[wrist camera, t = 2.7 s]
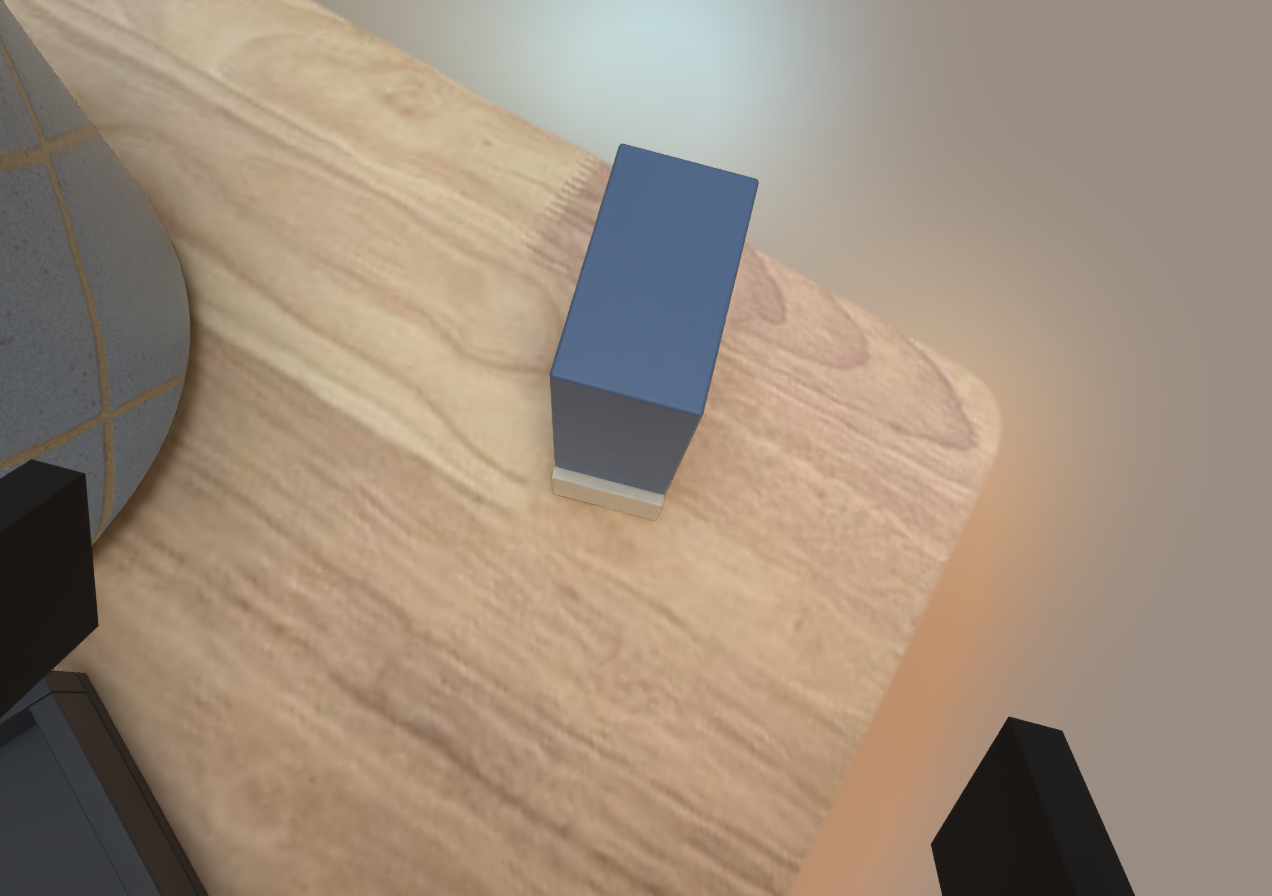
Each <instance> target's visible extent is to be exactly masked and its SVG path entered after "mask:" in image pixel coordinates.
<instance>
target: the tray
mask: <svg viewBox="0 0 1272 896" xmlns="http://www.w3.org/2000/svg"><path fill="white" fill-rule="evenodd" d="M0 896H207V894H206V892H205V890H204V888H203V886H202V885H201V883H200V881H199V879H198V877H197V876H196V874H195V872H194V870H193V868H192V867H191V865H190V863H189V861H188V859H187V857H186V856H185V854H184V852H183V850H182V848H181V847H180V845H179V843H178V841H177V839H176V837H175V836H174V834H173V832H172V830H171V828H170V827H169V825H168V823H167V821H166V819H165V817H164V816H163V814H162V812H161V810H160V808H159V807H158V805H157V803H156V801H155V799H154V797H153V796H152V794H151V792H150V790H149V788H148V787H147V785H146V783H145V781H144V779H143V777H142V776H141V774H140V772H139V770H138V768H137V767H136V765H135V763H134V761H133V759H132V757H131V756H130V754H129V752H128V750H127V748H126V747H125V745H124V743H123V741H122V739H121V738H120V736H119V734H118V732H117V730H116V728H115V727H114V725H113V723H112V721H111V719H110V718H109V716H108V714H107V712H106V710H105V708H104V707H103V705H102V703H101V701H100V699H99V698H98V696H97V694H96V692H95V690H94V688H93V687H92V685H91V683H90V681H89V679H88V678H87V676H86V674H85V673H75V672H62V671H50V672H49V673H48V674H47V675H46V676H45V677H44V678H43V679H42V680H41V681H40V682H39V683H37V684H36V685H35V686H34V687H33V688H32V689H31V690H30V691H29V692H28V693H27V694H26V695H25V696H24V697H23V698H22V699H21V700H19V701H18V702H17V703H16V704H15V705H14V706H13V707H12V708H11V709H10V710H9V711H8V712H7V713H6V714H5V715H4V716H3V717H1V718H0Z"/></svg>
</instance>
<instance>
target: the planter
mask: <svg viewBox="0 0 1272 896" xmlns="http://www.w3.org/2000/svg"><path fill="white" fill-rule="evenodd" d="M189 349H190V313H189V302H188V297H187V291H186V285H185V281H184V277H183V274H182V270H181V266H180V263H179V260H178V258H177V255H176V252H175V249H174V247H173V244H172V241H171V239H170V237H169V235H168V233H167V232H166V230H165V228H164V226H163V224H162V222H161V221H160V219H159V217H158V215H157V214H156V212H155V210H154V209H153V207H152V205H151V204H150V202H149V201H148V199H147V197H146V196H145V194H144V193H143V192H142V190H141V189H140V187H139V186H138V185H137V183H136V182H135V181H134V179H133V178H132V177H131V175H130V174H129V173H128V171H127V170H126V169H125V167H124V166H123V165H122V163H121V162H120V161H119V159H118V158H117V157H116V155H115V154H114V153H113V151H112V150H111V149H110V147H109V146H108V145H107V143H106V142H105V141H104V139H103V138H102V136H101V135H100V134H99V132H98V131H97V130H96V128H95V127H94V126H93V124H92V123H91V122H90V120H89V119H88V118H87V116H86V115H85V113H84V112H83V111H82V109H81V108H80V107H79V105H78V104H77V103H76V101H75V100H74V98H73V97H72V96H71V94H70V93H69V92H68V90H67V89H66V87H65V86H64V85H63V83H62V82H61V81H60V79H59V78H58V76H57V75H56V74H55V72H54V71H53V70H52V68H51V67H50V65H49V64H48V63H47V61H46V60H45V59H44V57H43V56H42V55H41V53H40V52H39V50H38V49H37V48H36V46H35V45H34V44H33V42H32V41H31V39H30V38H29V37H28V35H27V34H26V33H25V31H24V30H23V28H22V27H21V26H20V24H19V23H18V21H17V20H16V18H15V17H14V16H13V14H12V13H11V11H10V10H9V9H8V7H7V6H6V4H5V3H4V2H3V0H0V478H2V477H3V476H5V475H7V474H8V473H10V472H11V471H13V470H15V469H16V468H18V467H19V466H21V465H23V464H24V463H26V462H27V461H29V460H31V459H33V460H37V461H41V462H44V463H48V464H52V465H56V466H60V467H63V468H67V469H71V470H75V471H79V472H82V473H86V484H87V496H88V508H89V520H90V531H91V543H92V546H93V544H94V543H95V542H96V541H97V539H98V538H99V537H100V536H101V534H102V533H103V532H104V530H105V529H106V528H107V527H108V526H109V524H110V523H111V522H112V521H113V519H114V518H115V517H116V516H117V514H118V513H119V512H120V510H121V509H122V508H123V506H124V505H125V504H126V502H127V501H128V500H129V498H130V497H131V496H132V494H133V493H134V491H135V490H136V488H137V487H138V486H139V484H140V483H141V481H142V480H143V478H144V477H145V475H146V474H147V472H148V470H149V468H150V467H151V465H152V463H153V461H154V460H155V458H156V456H157V454H158V453H159V451H160V449H161V447H162V444H163V442H164V440H165V438H166V436H167V434H168V432H169V429H170V427H171V424H172V421H173V419H174V416H175V413H176V411H177V408H178V405H179V401H180V398H181V394H182V391H183V387H184V382H185V377H186V372H187V367H188V358H189Z"/></svg>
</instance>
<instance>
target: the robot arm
mask: <svg viewBox="0 0 1272 896" xmlns="http://www.w3.org/2000/svg"><path fill="white" fill-rule="evenodd" d="M98 626H99V625H98V614H97V602H96V590H95V578H94V567H93V555H92V543H91V531H90V520H89V508H88V496H87V484H86V473H82V472H79V471H75V470H71V469H67V468H63V467H60V466H56V465H52V464H48V463H44V462H41V461H37V460H33V459H31V460H29V461H27V462H26V463H24V464H23V465H21V466H19V467H18V468H16V469H15V470H13V471H11V472H10V473H8V474H7V475H5V476H3V477H2V478H0V718H1V717H3V716H4V715H5V714H6V713H7V712H8V711H9V710H10V709H11V708H12V707H13V706H14V705H15V704H16V703H17V702H18V701H19V700H21V699H22V698H23V697H24V696H25V695H26V694H27V693H28V692H29V691H30V690H31V689H32V688H33V687H34V686H35V685H36V684H37V683H39V682H40V681H41V680H42V679H43V678H44V677H45V676H46V675H47V674H48V673H49V672H50V671H51V670H52V669H53V668H54V667H55V666H57V665H58V664H59V663H60V662H61V661H62V660H63V659H64V658H65V657H66V656H67V655H68V654H69V653H70V652H71V651H72V650H73V649H75V648H76V647H77V646H78V645H79V644H80V643H81V642H82V641H83V640H84V639H85V638H86V637H87V636H88V635H89V634H90V633H91V632H93V631H94V630H95V629H96V628H97V627H98ZM931 847H932V851H933V856H934V861H935V865H936V870H937V874H938V879H939V883H940V888H941V892H942V896H1135V894H1134V892H1133V890H1132V888H1131V886H1130V883H1129V881H1128V879H1127V876H1126V874H1125V872H1124V870H1123V867H1122V865H1121V863H1120V861H1119V858H1118V856H1117V854H1116V851H1115V849H1114V847H1113V845H1112V842H1111V840H1110V838H1109V835H1108V833H1107V831H1106V829H1105V826H1104V824H1103V822H1102V820H1101V817H1100V815H1099V813H1098V811H1097V808H1096V806H1095V804H1094V802H1093V799H1092V797H1091V795H1090V793H1089V791H1088V788H1087V786H1086V783H1085V781H1084V779H1083V777H1082V774H1081V772H1080V770H1079V768H1078V765H1077V763H1076V761H1075V759H1074V756H1073V754H1072V752H1071V750H1070V747H1069V745H1068V743H1067V740H1066V738H1065V736H1064V734H1063V731H1061V730H1058V729H1054V728H1050V727H1046V726H1043V725H1039V724H1035V723H1031V722H1027V721H1023V720H1020V719H1016V718H1012V717H1008V718H1007V720H1006V722H1005V723H1004V725H1003V727H1002V728H1001V730H1000V732H999V733H998V735H997V737H996V738H995V740H994V742H993V743H992V745H991V746H990V748H989V750H988V751H987V753H986V755H985V756H984V758H983V759H982V761H981V763H980V764H979V766H978V768H977V769H976V771H975V773H974V774H973V776H972V778H971V779H970V781H969V782H968V784H967V786H966V788H965V789H964V791H963V792H962V794H961V796H960V797H959V799H958V800H957V802H956V804H955V805H954V807H953V809H952V810H951V812H950V814H949V815H948V817H947V819H946V820H945V822H944V823H943V825H942V827H941V828H940V830H939V832H938V833H937V835H936V837H935V838H934V840H933V842H932V843H931Z"/></svg>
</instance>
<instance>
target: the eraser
mask: <svg viewBox="0 0 1272 896" xmlns="http://www.w3.org/2000/svg"><path fill="white" fill-rule="evenodd" d="M758 184H759V183H758V180H757V179H755V178H751V177H747V176H744V175H740V174H736V173H732V172H728V171H725V170H721V169H717V168H713V167H710V166H705V165H702V164H698V163H694V162H690V161H686V160H683V159H679V158H675V157H671V156H668V155H664V154H660V153H656V152H652V151H649V150H645V149H641V148H637V147H633V146H630V145H626V144H620V146H619V148H618V151H617V154H616V157H615V161H614V164H613V167H612V171H611V174H610V177H609V180H608V184H607V187H606V190H605V194H604V197H603V200H602V203H601V207H600V210H599V213H598V217H597V220H596V223H595V226H594V230H593V233H592V236H591V240H590V243H589V246H588V249H587V253H586V256H585V259H584V263H583V266H582V269H581V272H580V276H579V279H578V282H577V286H576V289H575V292H574V295H573V299H572V302H571V305H570V309H569V312H568V315H567V319H566V322H565V325H564V328H563V332H562V335H561V338H560V342H559V345H558V348H557V351H556V355H555V358H554V361H553V365H552V368H551V371H550V388H551V406H552V424H553V442H554V460H555V466H554V469H553V472H552V476H551V478H552V492H553V494H556V495H560V496H564V497H568V498H571V499H575V500H579V501H583V502H587V503H590V504H594V505H598V506H602V507H606V508H609V509H613V510H617V511H621V512H625V513H628V514H632V515H636V516H640V517H644V518H647V519H651V520H656V519H657V517H658V515H659V513H660V511H661V509H662V506H663V503H664V499H665V495H666V492H667V490H668V488H669V486H670V484H671V482H672V480H673V477H674V475H675V473H676V471H677V469H678V467H679V465H680V462H681V460H682V458H683V456H684V454H685V452H686V450H687V447H688V445H689V443H690V441H691V439H692V437H693V434H694V432H695V430H696V428H697V426H698V424H699V422H700V419H701V417H702V415H703V412H704V408H705V404H706V400H707V396H708V391H709V387H710V383H711V379H712V375H713V371H714V366H715V362H716V358H717V354H718V350H719V346H720V342H721V337H722V333H723V329H724V325H725V321H726V317H727V312H728V308H729V304H730V300H731V296H732V292H733V288H734V283H735V279H736V275H737V271H738V267H739V263H740V259H741V254H742V250H743V246H744V242H745V238H746V233H747V229H748V225H749V221H750V217H751V213H752V209H753V205H754V200H755V196H756V192H757V188H758Z"/></svg>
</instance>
